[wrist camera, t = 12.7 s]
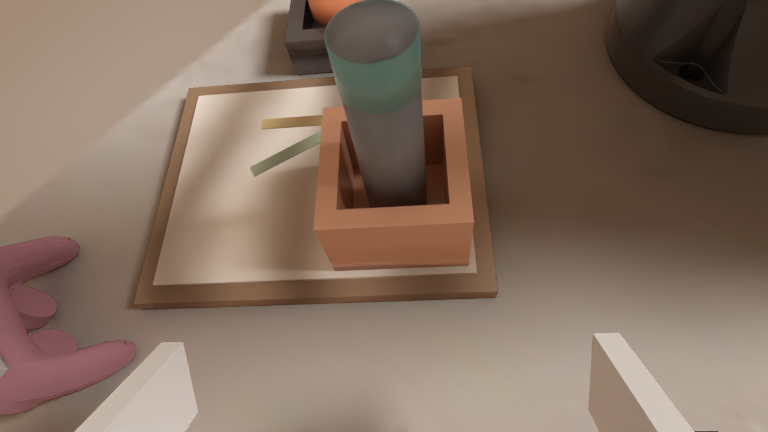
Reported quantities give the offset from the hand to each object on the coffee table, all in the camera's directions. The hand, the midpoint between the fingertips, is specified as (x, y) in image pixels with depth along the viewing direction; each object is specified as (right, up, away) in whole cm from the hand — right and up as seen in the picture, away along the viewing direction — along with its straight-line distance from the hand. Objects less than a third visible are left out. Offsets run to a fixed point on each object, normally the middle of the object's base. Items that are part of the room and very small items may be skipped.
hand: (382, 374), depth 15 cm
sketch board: (-4, +7, +15) cm, 17 cm away
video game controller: (-18, -1, +12) cm, 22 cm away
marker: (+1, +6, +12) cm, 13 cm away
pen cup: (+1, +5, +12) cm, 13 cm away
